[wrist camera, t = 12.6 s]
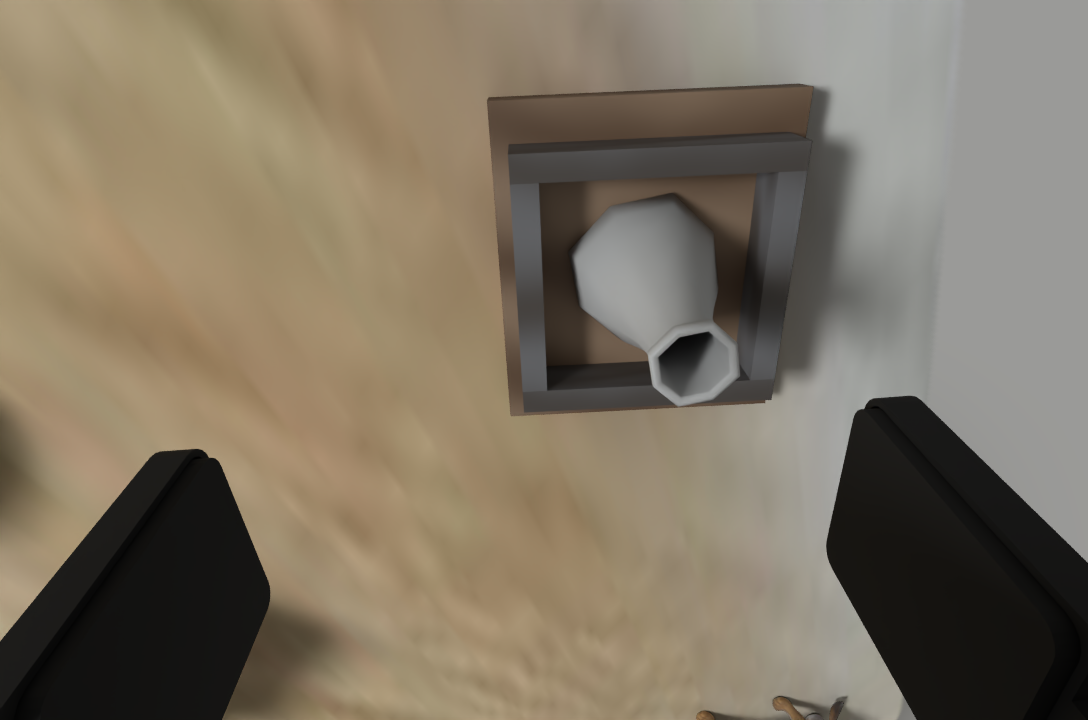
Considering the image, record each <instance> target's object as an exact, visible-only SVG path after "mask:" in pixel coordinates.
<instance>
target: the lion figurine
mask: <svg viewBox="0 0 1088 720" xmlns="http://www.w3.org/2000/svg"><path fill="white" fill-rule="evenodd" d="M843 704H844V703H843V702H842V701H841V702H835V703H834V704H833V705H832V707H831V711H830V715H829V720H837V718H838V715H839V714H840V712H841V709H842V706H843ZM773 707H774V708H775V710H777V711H785V712H786V713H787V714H788V715H789V716H790V718H791V720H805V719H804V717H803V716H802V715H801V714H800V713H799V712H798V711H797V710H796V709H795V708H794V707H793V705H792V704H791V703H790V701H789V700H787V699H786V698H784V697H777V698H775V699H774V700H773ZM696 718H697V720H715V719H714V717H713V715H712V714H711V713H709V712H707V711H701V712H699V713H698V714H697V716H696ZM806 720H824V719H823V718H822V717H821V716H820V715H817V714H812V715H808V716H807V717H806Z"/></svg>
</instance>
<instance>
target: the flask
mask: <svg viewBox="0 0 1088 720" xmlns="http://www.w3.org/2000/svg"><path fill="white" fill-rule="evenodd" d="M568 253H569V258H570V263H571V268H572V273H573V278H574V283H575V288H576V293H577V298H578V303H579V307H581V308H582V309H583V310H584V311H586V312H587V313H588V314H589V315H590V316H592V317H593V318H594V319H595V320H597V321H598V322H599V323H600V324H602V325H603V326H604V327H605V328H607V329H608V330H609V331H610V332H611V333H613V334H614V335H615V336H616V337H618V338H619V339H620V340H622V341H624V342H626V343H628V344H630V345H633V346H635V347H638V348H640V349H642V350H644V351H645V352H646V353H647V354H648V360H649V367H650V373H651V380H652V385H653V387H654V388H655V389H656V390H658V391H659V392H660V393H661V394H663V395H664V396H665V397H666V398H668V399H669V400H670V401H671V402H673V403H674V404H675V405H677V406H678V407H680V406H685V405H690V404H695V403H700V402H705V401H710V400H714V399H715V398H716V397H717V396H718V395H719V394H721V393H722V392H723V391H724V390H725V389H726V388H727V387H728V386H730V385H731V384H732V383H733V382H734V381H735V380H736V379H738V378H739V377H740V367H739V353H738V344H737V342H736V341H735V340H734V339H732V338H731V337H730V336H729V335H728V334H727V333H726V332H725V331H723V330H722V329H721V328H720V327H719V326H718V325H717V324H716V323H714V322H713V311H714V306H715V302H716V298H717V294H718V279H717V267H716V255H715V244H714V232H713V231H712V230H710V229H709V228H708V227H707V226H706V225H705V224H704V223H703V222H702V221H701V220H700V219H699V218H698V217H697V216H696V215H695V214H694V213H693V212H692V211H691V210H690V209H689V208H688V207H686V206H685V205H684V204H683V203H682V202H681V201H680V200H679V199H678V198H677V197H676V196H675V195H674V194H673V193H667V194H663V195H658V196H654V197H649V198H645V199H640V200H636V201H631V202H627V203H622V204H618V205H613V206H610V207H609V208H608V209H607V210H606V211H605V212H604V213H603V214H602V216H601V217H600V218H599V219H598V220H597V221H596V222H595V223H594V224H593V225H592V227H591V228H590V229H589V230H588V231H587V232H586V233H585V234H584V235H583V236H582V237H581V239H580V240H579V241H578V242H577V243H576V244H575V245H574V246H573V247H572V248H571V250H570V251H569V252H568Z"/></svg>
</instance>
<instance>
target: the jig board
mask: <svg viewBox="0 0 1088 720" xmlns="http://www.w3.org/2000/svg"><path fill="white" fill-rule="evenodd" d="M812 92H813V86H808V85H803V84H783V85H760V86H737V87H715V88H692V89H669V90H647V91H624V92H601V93H579V94H556V95H533V96H511V97H489V98H488V100H487V106H488V119H489V133H490V146H491V160H492V173H493V186H494V200H495V213H496V227H497V240H498V253H499V267H500V280H501V294H502V307H503V321H504V334H505V347H506V361H507V374H508V388H509V401H510V414H511V416H524V415H544V414H563V413H582V412H601V411H620V410H639V409H658V408H678V406H677V405H675V404H674V403H673V402H671V401H670V400H669V399H668V398H666V397H665V396H664V395H663V394H661V393H660V392H659V391H658V390H656V389H655V388H654V387H653V385H652V380H651V373H650V367H649V360H648V354H647V353H646V352H645V351H644V350H642V349H640V348H638V347H635V346H633V345H630V344H628V343H626V342H624V341H622V340H620V339H619V338H618V337H616V336H615V335H614V334H613V333H611V332H610V331H609V330H608V329H607V328H605V327H604V326H603V325H602V324H600V323H599V322H598V321H597V320H595V319H594V318H593V317H592V316H590V315H589V314H588V313H587V312H586V311H584V310H583V309H582V308H581V307H579V303H578V298H577V293H576V288H575V283H574V278H573V273H572V268H571V263H570V258H569V253H568V252H569V251H570V250H571V248H572V247H573V246H574V245H575V244H576V243H577V242H578V241H579V240H580V239H581V237H582V236H583V235H584V234H585V233H586V232H587V231H588V230H589V229H590V228H591V227H592V225H593V224H594V223H595V222H596V221H597V220H598V219H599V218H600V217H601V216H602V214H603V213H604V212H605V211H606V210H607V209H608V208H609V207H610V206H613V205H618V204H622V203H627V202H631V201H636V200H640V199H645V198H649V197H654V196H658V195H663V194H667V193H673V194H674V195H675V196H676V197H677V198H678V199H679V200H680V201H681V202H682V203H683V204H684V205H685V206H686V207H688V208H689V209H690V210H691V211H692V212H693V213H694V214H695V215H696V216H697V217H698V218H699V219H700V220H701V221H702V222H703V223H704V224H705V225H706V226H707V227H708V228H709V229H710V230H712V231H713V232H714V244H715V255H716V267H717V279H718V294H717V298H716V302H715V306H714V311H713V322H714V323H716V324H717V325H718V326H719V327H720V328H721V329H722V330H723V331H725V332H726V333H727V334H728V335H729V336H730V337H731V338H732V339H734V340H735V341H736V342H737V344H738V353H739V367H740V377H739V378H738V379H736V380H735V381H734V382H733V383H732V384H731V385H730V386H728V387H727V388H726V389H725V390H724V391H723V392H722V393H721V394H719V395H718V396H717V397H716V398H715V399H714V400H710V401H705V402H700V403H695V404H690V405H685V406H680V407H697V406H716V405H735V404H754V403H765V400H771V398H772V392H773V386H774V379H775V373H776V367H777V360H778V354H779V348H780V341H781V335H782V329H783V322H784V316H785V310H786V303H787V297H788V291H789V285H790V278H791V272H792V266H793V259H794V253H795V247H796V240H797V234H798V228H799V221H800V215H801V209H802V202H803V196H804V190H805V183H806V177H807V171H808V164H809V158H810V152H811V145H812V140H809V139H807V138H806V132H807V125H808V118H809V112H810V105H811V99H812Z"/></svg>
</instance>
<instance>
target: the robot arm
mask: <svg viewBox="0 0 1088 720" xmlns="http://www.w3.org/2000/svg"><path fill="white" fill-rule="evenodd" d="M826 549H827V556H828V560H829V563H830V565H831V567H832V569H833V571H834V573H835V575H836V576H837V578H838V580H839V582H840V584H841V585H842V587H843V589H844V591H845V592H846V594H847V596H848V598H849V600H850V601H851V603H852V605H853V607H854V609H855V610H856V612H857V614H858V616H859V617H860V619H861V621H862V623H863V625H864V626H865V628H866V630H867V632H868V634H869V635H870V637H871V639H872V641H873V642H874V644H875V646H876V648H877V650H878V651H879V653H880V655H881V657H882V659H883V660H884V662H885V664H886V666H887V667H888V669H889V671H890V673H891V675H892V676H893V678H894V680H895V682H896V684H897V685H898V687H899V689H900V691H901V692H902V694H903V696H904V698H905V700H906V701H907V703H908V705H909V707H910V708H911V710H912V712H913V714H914V715H915V717H916V719H917V720H1088V563H1087V562H1086V561H1085V560H1084V559H1083V558H1082V557H1081V556H1080V555H1079V554H1078V553H1077V552H1076V551H1075V550H1074V549H1073V548H1072V547H1071V546H1070V545H1069V544H1068V543H1067V542H1066V541H1065V540H1064V539H1063V538H1062V537H1061V536H1060V535H1059V534H1058V533H1056V531H1055V530H1054V529H1053V528H1051V527H1050V526H1049V525H1048V524H1047V523H1046V522H1045V521H1044V520H1043V519H1042V518H1041V517H1040V516H1039V515H1038V514H1037V513H1036V512H1035V511H1034V510H1033V509H1032V508H1031V507H1030V506H1029V505H1028V504H1027V503H1026V502H1025V501H1024V500H1023V499H1022V498H1021V497H1020V496H1019V495H1018V494H1017V493H1016V492H1015V491H1013V489H1012V488H1010V487H1009V486H1008V485H1007V484H1006V483H1005V482H1004V481H1003V480H1002V479H1001V478H1000V477H999V476H998V475H997V474H996V473H995V472H994V471H993V470H992V469H991V468H990V467H989V466H988V465H987V464H986V463H985V462H984V461H983V460H982V459H981V458H980V457H979V456H978V455H977V454H976V453H975V452H974V451H973V450H972V449H970V448H969V447H968V446H967V445H966V444H965V443H964V442H963V441H962V440H961V439H960V438H959V437H958V436H957V435H956V434H955V433H954V432H953V431H952V430H951V429H950V428H949V427H948V426H947V425H946V424H945V423H944V422H943V421H941V419H940V418H939V417H938V416H936V414H935V413H934V412H933V411H932V410H931V409H930V408H928V407H927V406H926V405H925V404H924V403H923V402H922V401H921V400H920V399H918V398H917V397H915V396H901V397H887V398H874V399H872V400H869V402H868V403H867V404H866V406H865V409H861V410H858V411H857V412H856V413H855V416H854V419H853V423H852V428H851V432H850V437H849V441H848V446H847V450H846V455H845V460H844V464H843V469H842V473H841V478H840V482H839V487H838V492H837V496H836V501H835V505H834V510H833V514H832V519H831V523H830V528H829V533H828V537H827V543H826ZM269 602H270V586H269V582H268V580H267V577H266V575H265V572H264V570H263V567H262V565H261V562H260V560H259V558H258V555H257V553H256V550H255V548H254V545H253V543H252V540H251V538H250V536H249V533H248V531H247V528H246V526H245V523H244V521H243V518H242V516H241V513H240V511H239V509H238V506H237V504H236V501H235V499H234V496H233V494H232V491H231V489H230V487H229V484H228V482H227V479H226V477H225V474H224V472H223V469H222V467H221V465H220V463H219V461H218V460H216V459H215V458H209V457H208V455H207V454H206V453H205V452H204V451H203V450H200V449H189V450H176V451H162V452H158V453H155V454H154V455H153V456H152V457H150V458H149V460H148V461H147V462H146V463H145V465H144V466H143V467H142V468H141V469H140V471H139V472H138V473H137V474H136V476H135V477H134V478H133V479H132V480H131V482H130V483H129V484H128V485H127V487H126V488H125V489H124V490H123V492H122V493H121V494H120V495H119V496H118V498H117V499H116V500H115V501H114V503H113V504H112V505H111V506H110V507H109V509H108V510H107V511H106V512H105V514H104V515H103V516H102V517H101V519H100V520H99V521H98V522H97V523H96V525H95V526H94V527H93V528H92V530H91V531H90V532H89V533H88V534H87V536H86V537H85V538H84V539H83V541H82V542H81V543H80V544H79V546H78V547H77V548H76V549H75V550H74V552H73V553H72V554H71V555H70V557H69V558H68V559H67V560H66V561H65V563H64V564H63V565H62V566H61V568H60V569H59V570H58V571H57V572H56V574H55V575H54V576H53V577H52V579H51V580H50V581H49V582H48V584H47V585H46V586H45V587H44V588H43V590H42V591H41V592H40V593H39V595H38V596H37V597H36V598H35V599H34V601H33V602H32V603H31V604H30V606H29V607H28V608H27V609H26V611H25V612H24V613H23V614H22V615H21V617H20V618H19V619H18V620H17V622H16V623H15V624H14V625H13V626H12V628H11V629H10V630H9V631H8V633H7V634H6V635H5V636H4V637H3V639H2V640H1V641H0V720H222V718H223V716H224V713H225V711H226V708H227V706H228V704H229V701H230V699H231V696H232V694H233V692H234V689H235V687H236V684H237V682H238V679H239V677H240V675H241V672H242V670H243V667H244V665H245V663H246V660H247V658H248V655H249V653H250V651H251V648H252V646H253V643H254V641H255V639H256V636H257V634H258V631H259V629H260V626H261V624H262V622H263V619H264V617H265V614H266V612H267V609H268V606H269Z"/></svg>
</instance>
